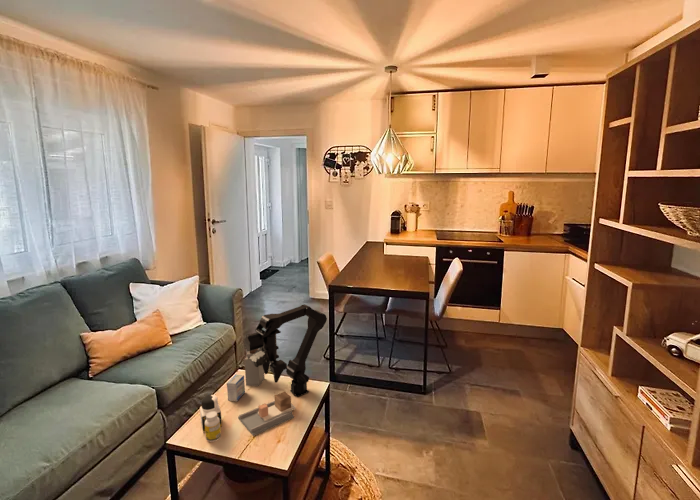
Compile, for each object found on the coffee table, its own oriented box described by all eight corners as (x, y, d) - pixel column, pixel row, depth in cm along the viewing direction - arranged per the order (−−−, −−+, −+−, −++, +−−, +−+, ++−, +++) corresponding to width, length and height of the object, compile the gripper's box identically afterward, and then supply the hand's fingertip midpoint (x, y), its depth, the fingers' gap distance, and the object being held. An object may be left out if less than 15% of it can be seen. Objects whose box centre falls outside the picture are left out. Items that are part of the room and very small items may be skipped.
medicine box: (236, 401, 166) (235, 384, 165) (227, 400, 167) (226, 382, 166) (245, 392, 174) (244, 375, 172) (236, 391, 175) (235, 374, 173)
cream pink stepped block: (287, 401, 165) (286, 391, 164) (295, 408, 160) (295, 398, 159) (256, 414, 156) (255, 403, 155) (264, 422, 151) (263, 411, 150)
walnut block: (285, 401, 163) (284, 391, 162) (291, 407, 159) (290, 396, 158) (274, 406, 160) (274, 395, 159) (280, 411, 156) (280, 400, 155)
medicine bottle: (203, 432, 146) (200, 404, 144) (200, 422, 152) (198, 395, 150) (222, 427, 149) (220, 399, 147) (219, 417, 156) (217, 390, 153)
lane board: (277, 402, 166) (277, 397, 165) (293, 417, 155) (293, 412, 155) (238, 418, 155) (238, 413, 154) (253, 436, 144) (252, 431, 144)
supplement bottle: (205, 434, 145) (203, 411, 143) (220, 431, 147) (218, 408, 145) (206, 443, 140) (204, 420, 138) (221, 440, 142) (219, 416, 140)
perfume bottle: (251, 378, 186) (249, 344, 183) (264, 379, 185) (263, 344, 182) (246, 385, 180) (244, 350, 177) (259, 386, 179) (257, 351, 176)
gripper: (242, 342, 162) (244, 375, 165) (262, 357, 148) (263, 394, 151) (266, 335, 169) (267, 367, 172) (287, 349, 155) (288, 384, 158)
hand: (271, 378), depth 163 cm, fingers open, 9 cm apart
